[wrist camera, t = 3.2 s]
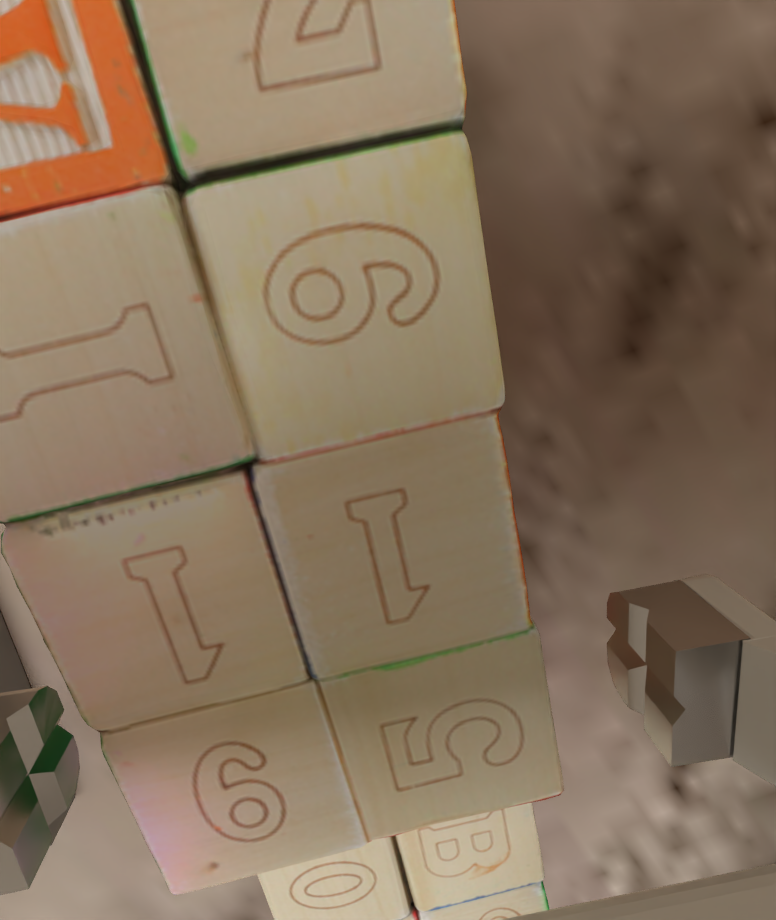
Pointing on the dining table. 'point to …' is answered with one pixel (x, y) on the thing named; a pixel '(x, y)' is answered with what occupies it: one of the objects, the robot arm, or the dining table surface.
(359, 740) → the stack of blocks
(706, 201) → the dining table surface
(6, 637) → the yellow and grey tray
